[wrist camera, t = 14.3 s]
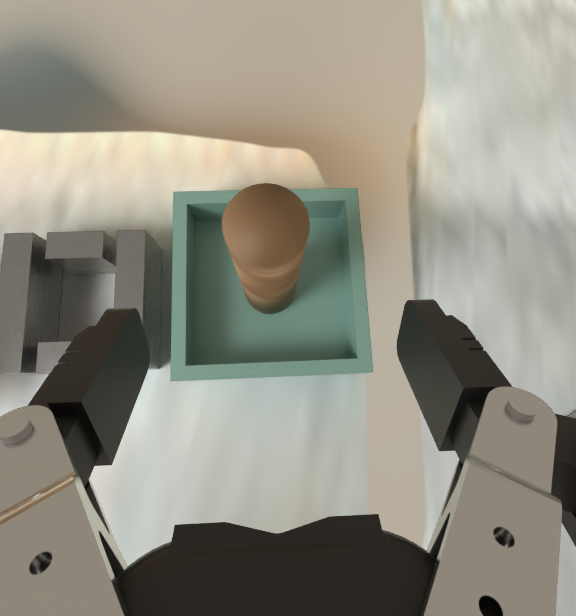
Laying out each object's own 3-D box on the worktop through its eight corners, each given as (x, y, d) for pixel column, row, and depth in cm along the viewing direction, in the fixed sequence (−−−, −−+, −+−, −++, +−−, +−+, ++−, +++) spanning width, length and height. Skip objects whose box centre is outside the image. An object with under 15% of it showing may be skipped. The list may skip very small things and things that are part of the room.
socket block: (161, 248, 31) (145, 230, 27) (159, 368, 29) (140, 367, 25) (39, 252, 30) (4, 233, 26) (28, 374, 28) (-11, 374, 24)
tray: (347, 211, 32) (357, 188, 28) (359, 373, 29) (373, 372, 25) (185, 214, 31) (173, 191, 27) (184, 380, 29) (170, 381, 25)
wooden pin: (293, 264, 30) (307, 182, 17) (295, 313, 29) (312, 264, 16) (244, 266, 30) (221, 184, 17) (245, 315, 29) (222, 267, 16)
